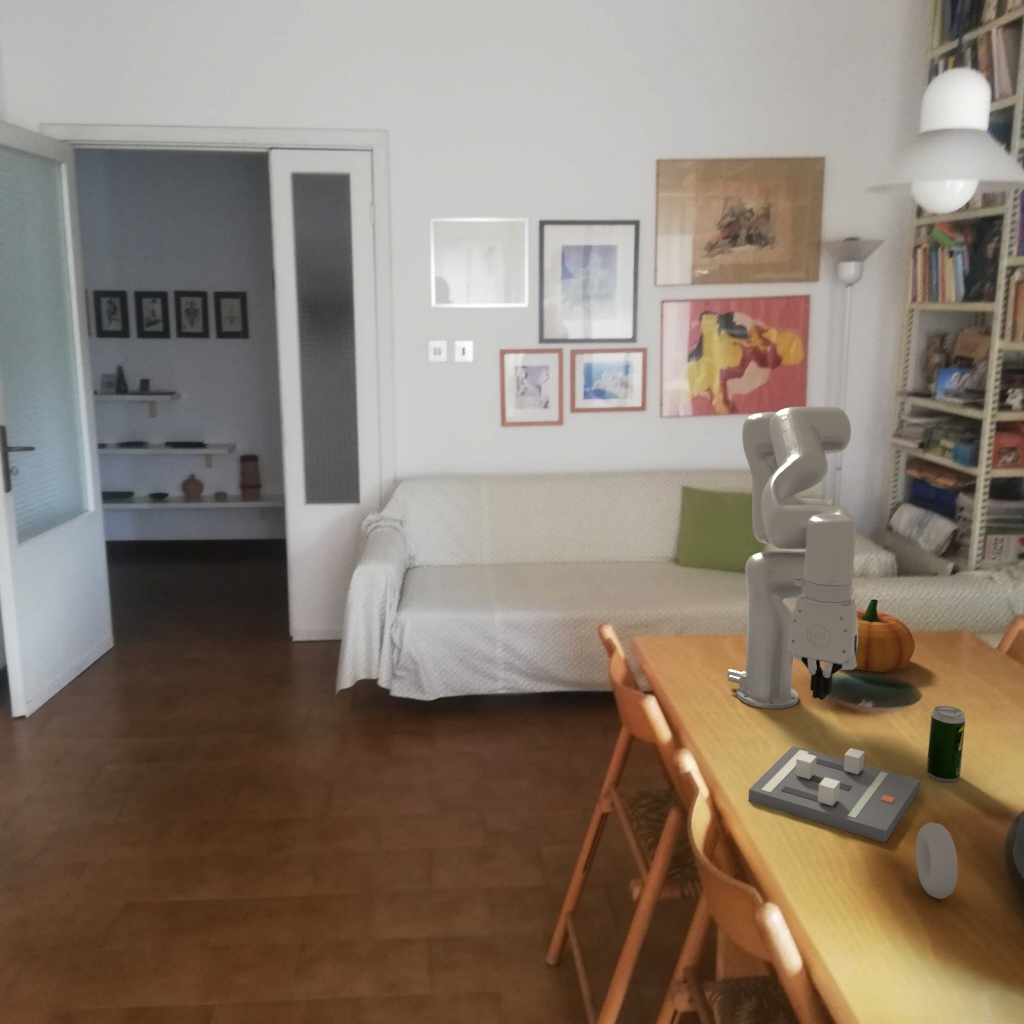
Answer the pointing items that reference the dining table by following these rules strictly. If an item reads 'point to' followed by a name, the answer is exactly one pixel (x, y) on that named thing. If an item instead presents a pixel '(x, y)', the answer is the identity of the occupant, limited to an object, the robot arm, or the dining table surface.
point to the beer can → (945, 743)
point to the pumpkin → (882, 641)
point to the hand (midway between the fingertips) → (820, 696)
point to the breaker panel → (837, 817)
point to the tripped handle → (806, 765)
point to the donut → (936, 860)
